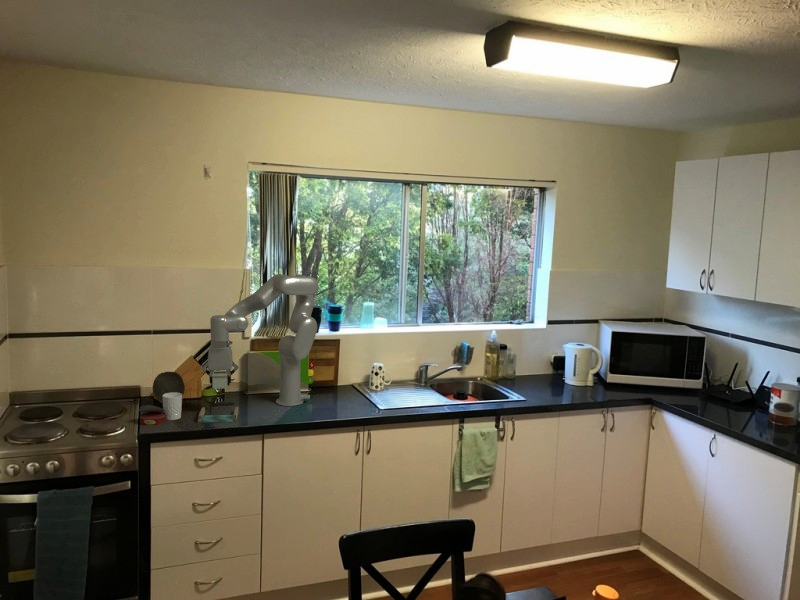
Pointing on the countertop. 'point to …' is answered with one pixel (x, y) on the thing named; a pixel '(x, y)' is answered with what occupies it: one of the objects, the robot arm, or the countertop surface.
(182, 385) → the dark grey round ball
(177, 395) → the white cup
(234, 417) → the bay
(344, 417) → the countertop surface
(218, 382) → the crate
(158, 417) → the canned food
